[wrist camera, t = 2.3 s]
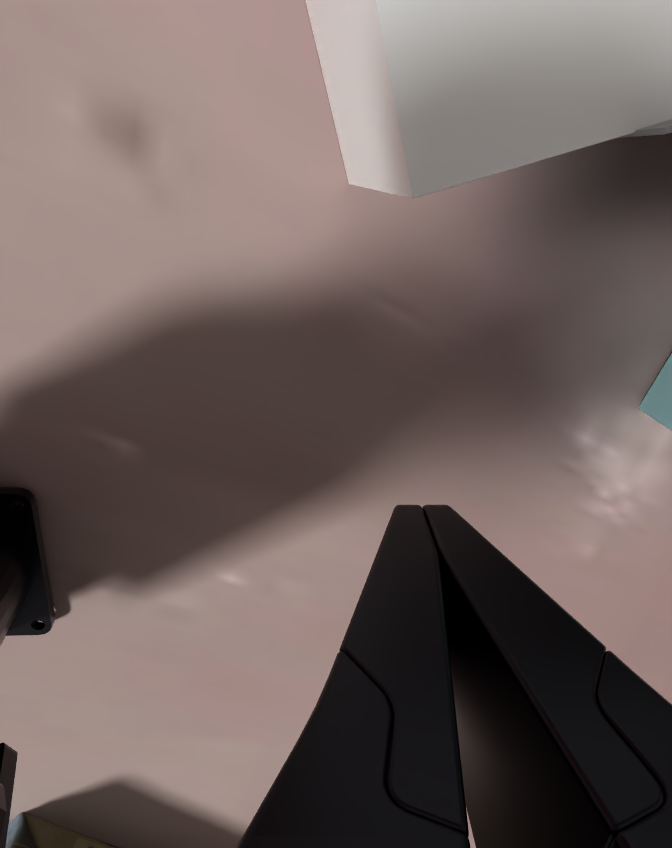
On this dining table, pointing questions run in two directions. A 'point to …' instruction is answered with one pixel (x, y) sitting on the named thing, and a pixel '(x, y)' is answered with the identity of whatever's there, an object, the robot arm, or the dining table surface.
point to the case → (487, 83)
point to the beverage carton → (45, 835)
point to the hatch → (660, 397)
